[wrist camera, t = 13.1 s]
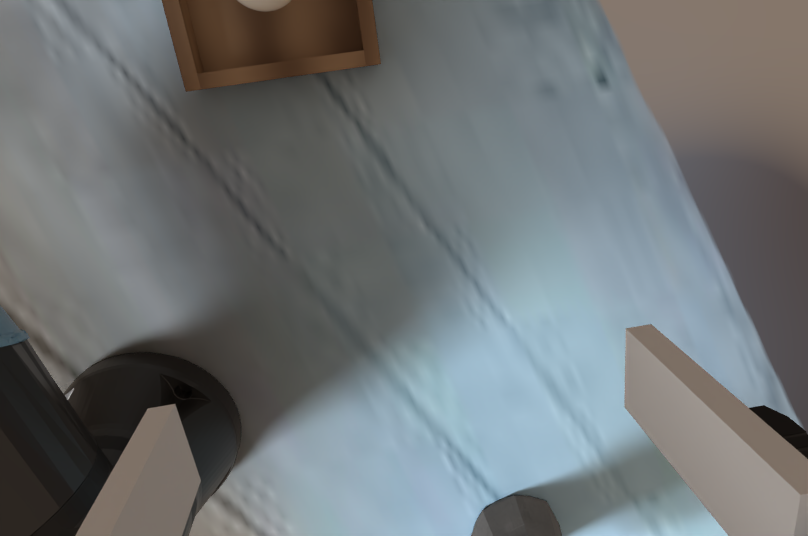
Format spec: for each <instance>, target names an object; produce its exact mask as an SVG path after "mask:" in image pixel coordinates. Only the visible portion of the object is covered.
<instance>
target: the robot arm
mask: <svg viewBox="0 0 808 536" xmlns="http://www.w3.org/2000/svg"><path fill="white" fill-rule="evenodd" d="M28 338H29V336H28V334H27V333H26V332H25V331H24V330H21V329H19V328H18V327H17V326H16V324H15V323H14V322H13V321H12V319H11V318H10V317H9V316H8V314H7V313H6V312H5V311H4V309H3V308H2V307H1V306H0V536H189V533H190V530H191V527H192V524H193V521H194V518H195V516H196V514H197V513H198V512H199V511H200V509H201V508H202V507H203V505H204V504H205V503H206V502H207V500H208V499H209V498H210V497H211V496H212V495H213V494H214V493H215V492H216V491H217V490H218V489H219V488H220V486H221V485H222V484H223V483H224V482H225V480H226V479H227V477H228V475H229V473H230V472H231V470H232V467H233V465H234V462H235V459H236V456H237V452H238V448H239V445H240V440H241V422H240V417H239V413H238V410H237V408H236V405H235V403H234V401H233V400H232V398H231V396H230V395H229V393H228V392H227V391H226V389H225V388H224V387H223V386H222V385H221V384H220V383H219V382H218V381H217V380H216V379H215V378H214V377H213V376H211V375H210V374H209V373H207V372H206V371H204V370H203V369H201V368H199V367H198V366H196V365H194V364H192V363H190V362H187V361H185V360H182V359H179V358H176V357H172V356H168V355H163V354H156V353H130V354H123V355H118V356H115V357H111V358H108V359H105V360H103V361H101V362H99V363H97V364H95V365H93V366H91V367H90V368H88V369H87V370H85V371H84V372H83V373H82V374H81V375H79V376H78V377H77V378H76V379H75V380H74V382H73V383H72V384H71V385H70V386H69V388H68V389H67V390H66V391H65V392H64V394H63V393H62V391H61V390H60V388H59V387H58V385H57V384H56V383H55V381H54V380H53V378H52V377H51V375H50V373H49V372H48V370H47V369H46V367H45V366H44V364H43V363H42V361H41V360H40V358H39V357H38V355H37V354H36V352H35V351H34V349H33V348H32V346H31V345H30V343H29V342H28V340H27V339H28ZM625 408H626V409H627V411H628V412H629V413H630V414H631V416H632V417H633V418H634V419H635V420H636V422H637V423H638V424H639V425H640V427H641V428H642V429H643V430H644V432H645V433H646V434H647V435H648V437H649V438H650V439H651V440H652V442H653V443H654V444H655V445H656V446H657V448H658V449H659V450H660V451H661V453H662V454H663V455H664V456H665V458H666V459H667V460H668V461H669V463H670V464H671V465H672V466H673V468H674V469H675V470H676V471H677V473H678V474H679V475H680V476H681V477H682V479H683V480H684V481H685V482H686V484H687V485H688V486H689V487H690V489H691V490H692V491H693V492H694V494H695V495H696V496H697V497H698V499H699V500H700V501H701V502H702V503H703V505H704V506H705V507H706V508H707V510H708V511H709V512H710V513H711V515H712V516H713V517H714V518H715V520H716V521H717V522H718V523H719V525H720V526H721V527H722V528H723V530H724V531H725V532H726V533H727V534H728V536H808V435H807V433H806V431H805V430H804V429H803V428H801V427H800V426H799V425H798V424H796V423H795V422H794V421H793V420H791V419H790V418H789V417H787V416H785V415H783V414H781V413H779V412H777V411H775V410H773V409H770V408H768V407H766V406H764V405H763V406H758V407H752V408H748V407H747V406H746V405H744V404H743V403H742V402H741V401H740V400H739V399H737V398H736V397H735V396H734V395H733V394H732V393H730V392H729V391H728V390H727V389H726V388H725V387H723V386H722V385H721V384H720V383H719V382H718V381H716V380H715V379H714V378H713V377H712V376H711V375H710V374H708V373H707V372H706V371H705V370H704V369H703V368H701V367H700V366H699V365H698V364H697V363H696V362H694V361H693V360H692V359H691V358H690V357H689V356H687V355H686V354H685V353H684V352H683V351H682V350H680V349H679V348H678V347H677V346H676V345H675V344H673V343H672V342H671V341H670V340H669V339H668V338H667V337H665V336H664V335H663V334H662V333H661V332H660V331H658V330H657V329H656V328H655V327H654V326H653V325H651V324H650V325H644V326H638V327H632V328H626V351H625Z"/></svg>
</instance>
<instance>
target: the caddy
mask: <svg viewBox="0 0 808 536" xmlns="http://www.w3.org/2000/svg"><path fill="white" fill-rule="evenodd" d="M162 3H163V7H164V11H165V15H166V18H167V22H168V26H169V30H170V34H171V37H172V41H173V45H174V49H175V53H176V56H177V60H178V64H179V68H180V72H181V75H182V79H183V83H184V87H185V91H186V92H187V91H194V90H201V89H208V88H215V87H222V86H229V85H236V84H243V83H251V82H258V81H265V80H272V79H279V78H286V77H293V76H300V75H307V74H314V73H321V72H328V71H335V70H342V69H349V68H357V67H364V66H371V65H378V64H381V61H380V54H379V46H378V39H377V32H376V25H375V17H374V10H373V3H372V0H291V1H290V2H289V3H288V4H287V5H286V6H284V7H282V8H281V9H278V10H275V11H269V12H263V11H256V10H253V9H250V8H248V7H246V6H244V5H242V4H241V3H239V2H238V1H237V0H162Z"/></svg>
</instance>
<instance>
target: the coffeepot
mask: <svg viewBox="0 0 808 536" xmlns="http://www.w3.org/2000/svg"><path fill="white" fill-rule="evenodd" d="M471 536H562V534H561V530H560V526H559V523H558V521H557V519H556V518H555V516H554V514H553V512H552V510H551V508H550V507H549V505H548V503H547V501H544V500H541V499H538V498H535V497H531V496H524V495H518V496H516V495H514V496H510V497H506V498H503V499H501V500H498V501H496V502H494V503H493V504H491V505H490V506H488V507H487V508H486V509H485V510H482V512H481V514H480V515H479V517H478V519H477V520H476V522H475V525H474V529H473V532H472V535H471Z"/></svg>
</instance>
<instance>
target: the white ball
mask: <svg viewBox="0 0 808 536" xmlns="http://www.w3.org/2000/svg"><path fill="white" fill-rule="evenodd" d="M237 1H238V2H239V3H241V4H242V5H244V6H246V7H248V8H250V9H253V10H256V11H263V12H269V11H275V10H278V9H281V8H282V7H284V6H286V5H287V4H288V3H289V2H290V1H291V0H237Z"/></svg>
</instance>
